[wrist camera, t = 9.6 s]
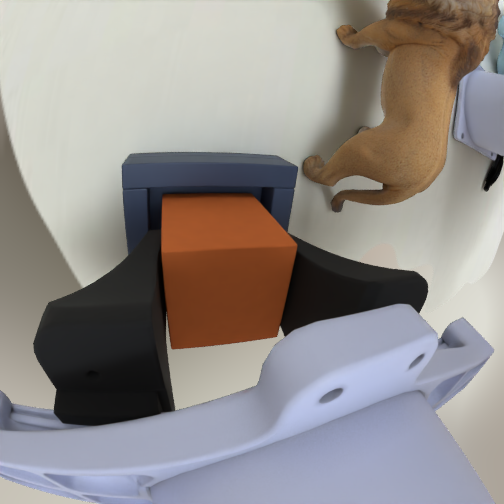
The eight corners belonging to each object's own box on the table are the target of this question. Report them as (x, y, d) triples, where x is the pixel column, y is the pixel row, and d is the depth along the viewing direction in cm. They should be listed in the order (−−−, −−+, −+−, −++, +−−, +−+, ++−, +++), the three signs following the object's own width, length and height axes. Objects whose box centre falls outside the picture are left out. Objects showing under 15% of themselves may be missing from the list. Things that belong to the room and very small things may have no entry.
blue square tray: (277, 155, 13) (298, 166, 11) (260, 275, 17) (274, 301, 15) (129, 153, 11) (121, 164, 9) (139, 283, 15) (137, 312, 13)
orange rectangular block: (251, 192, 12) (298, 245, 8) (243, 267, 14) (277, 337, 10) (162, 193, 11) (161, 250, 7) (165, 272, 13) (171, 350, 9)
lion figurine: (319, -32, 8) (442, -84, 1) (392, 1, 10) (513, -7, 2) (293, 207, 15) (402, 314, 8) (366, 209, 17) (472, 289, 9)
